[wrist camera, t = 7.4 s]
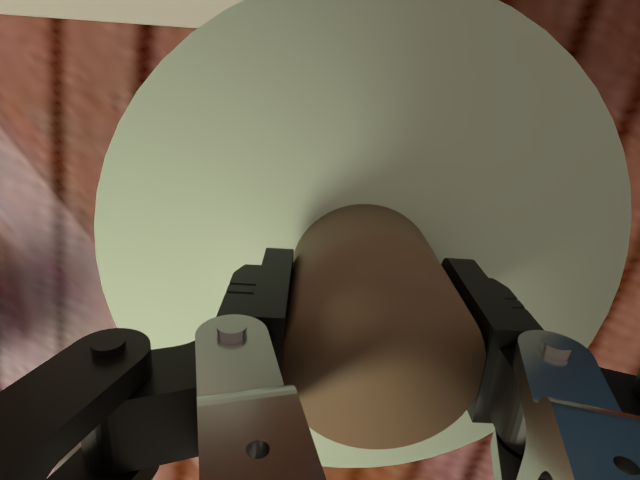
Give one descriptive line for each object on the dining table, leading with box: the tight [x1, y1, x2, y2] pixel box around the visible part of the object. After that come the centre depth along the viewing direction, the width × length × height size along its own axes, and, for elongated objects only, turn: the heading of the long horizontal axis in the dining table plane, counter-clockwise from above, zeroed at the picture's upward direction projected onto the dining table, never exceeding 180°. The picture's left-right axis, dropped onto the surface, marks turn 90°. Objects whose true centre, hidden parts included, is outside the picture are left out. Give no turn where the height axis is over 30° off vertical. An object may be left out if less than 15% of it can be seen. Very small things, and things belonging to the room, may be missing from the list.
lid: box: [94, 0, 631, 468], centre depth 11 cm, size 15×15×6 cm
